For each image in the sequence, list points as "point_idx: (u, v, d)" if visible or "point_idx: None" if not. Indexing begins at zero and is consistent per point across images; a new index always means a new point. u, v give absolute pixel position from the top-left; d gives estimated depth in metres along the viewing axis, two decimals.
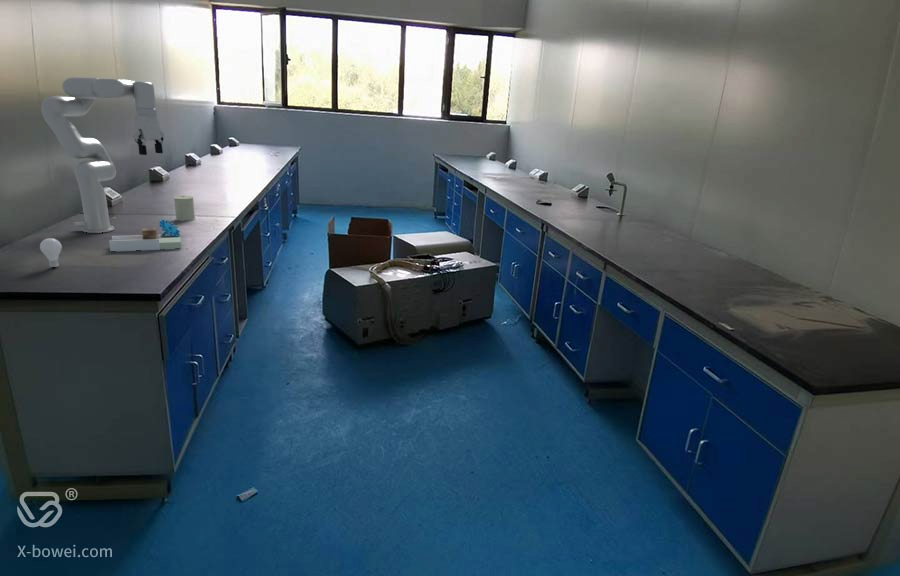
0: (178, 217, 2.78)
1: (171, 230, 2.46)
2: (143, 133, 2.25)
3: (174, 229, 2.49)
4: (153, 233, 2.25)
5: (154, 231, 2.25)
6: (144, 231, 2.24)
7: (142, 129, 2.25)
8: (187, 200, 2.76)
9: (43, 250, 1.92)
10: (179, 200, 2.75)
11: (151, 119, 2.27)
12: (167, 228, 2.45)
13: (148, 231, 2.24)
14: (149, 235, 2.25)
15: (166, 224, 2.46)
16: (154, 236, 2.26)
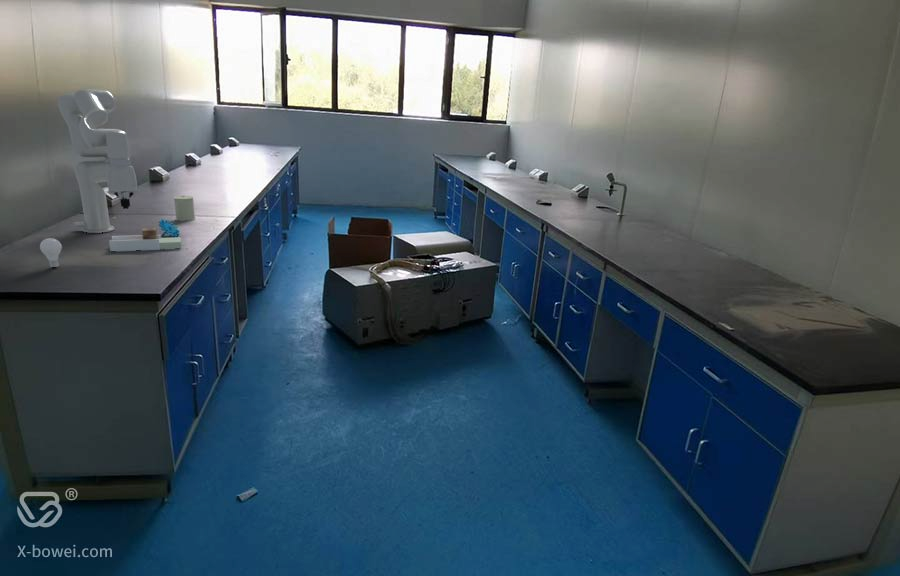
0: (178, 217, 2.78)
1: (170, 230, 2.46)
2: None
3: (174, 229, 2.49)
4: (153, 233, 2.25)
5: (154, 231, 2.25)
6: (144, 231, 2.24)
7: None
8: (187, 200, 2.76)
9: (43, 250, 1.92)
10: (179, 200, 2.75)
11: None
12: (166, 228, 2.45)
13: (148, 231, 2.24)
14: (149, 235, 2.25)
15: (166, 224, 2.46)
16: (154, 236, 2.26)
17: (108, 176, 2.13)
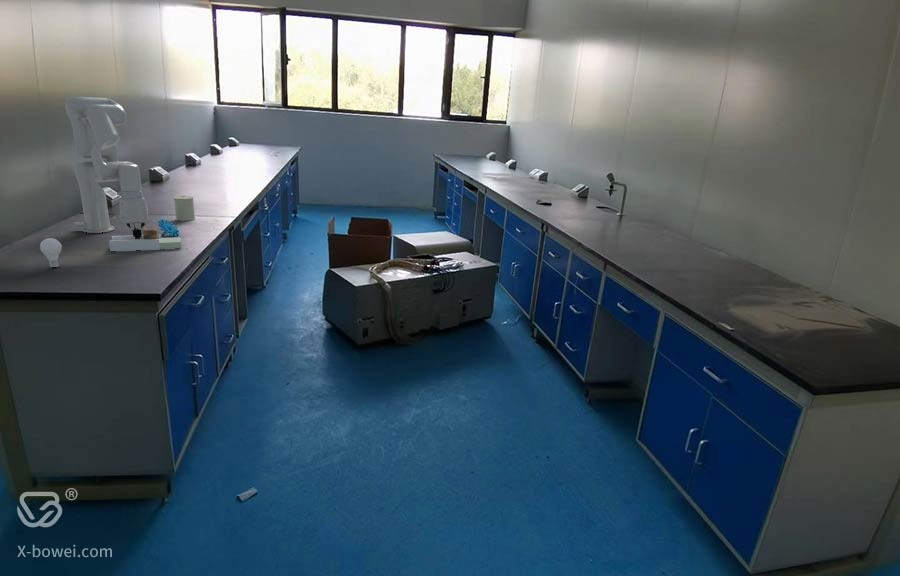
0: (178, 217, 2.78)
1: (170, 230, 2.46)
2: (148, 213, 2.26)
3: (173, 229, 2.49)
4: (154, 233, 2.25)
5: (155, 231, 2.25)
6: (145, 231, 2.24)
7: None
8: (187, 200, 2.76)
9: (43, 250, 1.92)
10: (179, 200, 2.75)
11: None
12: (166, 228, 2.45)
13: (149, 231, 2.24)
14: (150, 235, 2.25)
15: (165, 224, 2.46)
16: (155, 236, 2.26)
17: (121, 208, 2.18)
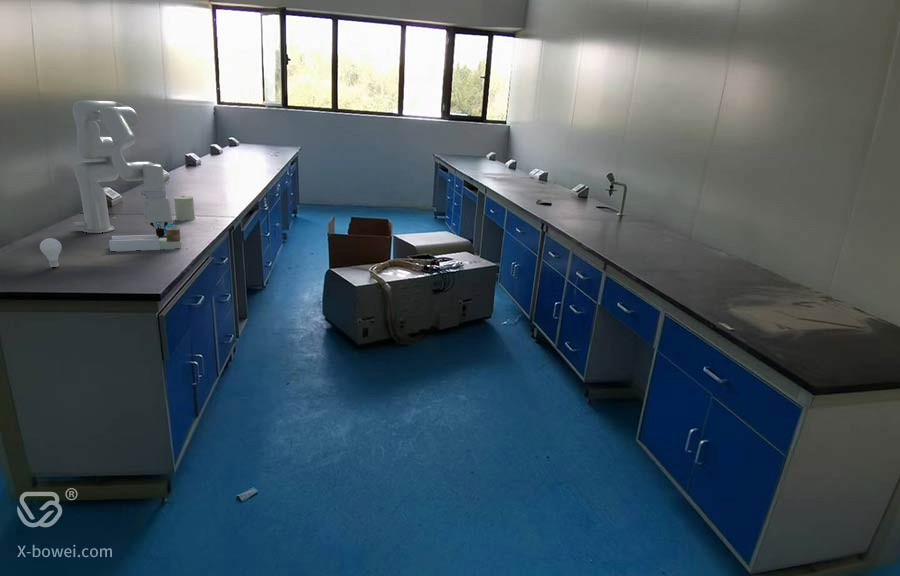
0: (178, 217, 2.78)
1: None
2: None
3: None
4: (176, 233, 2.28)
5: (177, 231, 2.28)
6: (168, 231, 2.27)
7: None
8: (187, 200, 2.76)
9: (43, 250, 1.92)
10: (179, 200, 2.75)
11: None
12: None
13: (171, 231, 2.27)
14: (172, 235, 2.28)
15: None
16: (177, 236, 2.29)
17: (145, 207, 2.21)
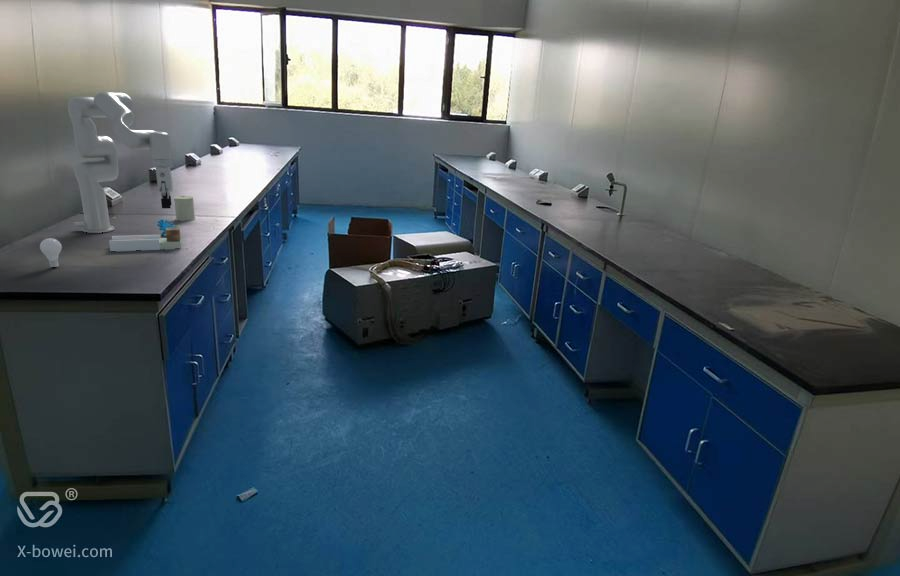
0: (178, 217, 2.78)
1: None
2: None
3: None
4: (176, 233, 2.28)
5: (177, 231, 2.28)
6: (168, 231, 2.27)
7: None
8: (187, 200, 2.76)
9: (43, 250, 1.92)
10: (179, 200, 2.75)
11: None
12: (165, 228, 2.45)
13: (171, 231, 2.27)
14: (172, 235, 2.28)
15: (165, 224, 2.47)
16: (177, 236, 2.29)
17: (169, 177, 2.20)
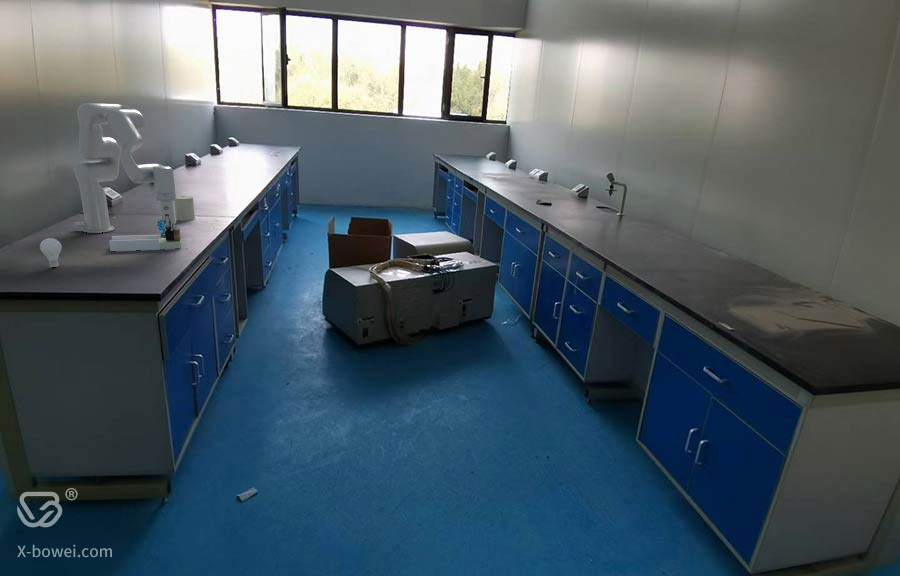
0: (178, 217, 2.78)
1: None
2: None
3: None
4: (176, 232, 2.29)
5: (177, 230, 2.28)
6: None
7: None
8: (187, 200, 2.76)
9: (43, 250, 1.92)
10: (179, 200, 2.75)
11: None
12: (164, 228, 2.45)
13: None
14: None
15: (164, 224, 2.47)
16: (177, 235, 2.29)
17: (173, 210, 2.24)
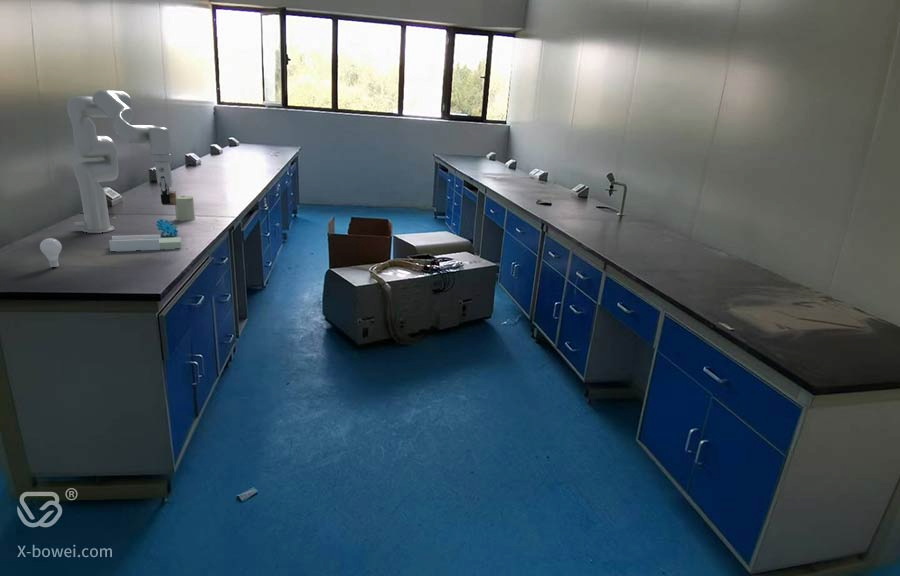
0: (178, 217, 2.78)
1: (168, 230, 2.47)
2: None
3: (172, 229, 2.49)
4: (173, 196, 2.24)
5: (174, 194, 2.24)
6: None
7: None
8: (187, 200, 2.76)
9: (43, 250, 1.92)
10: (179, 200, 2.75)
11: None
12: (164, 228, 2.45)
13: None
14: None
15: (164, 224, 2.47)
16: (173, 199, 2.24)
17: (169, 172, 2.19)
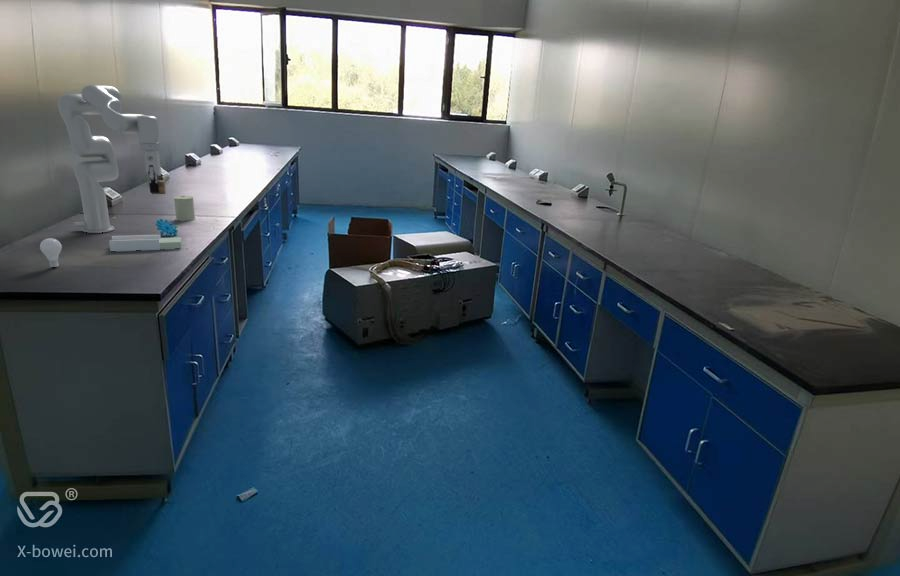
0: (178, 217, 2.78)
1: (167, 230, 2.47)
2: None
3: (171, 229, 2.49)
4: (161, 185, 2.24)
5: (162, 183, 2.24)
6: None
7: None
8: (187, 200, 2.76)
9: (43, 250, 1.92)
10: (179, 200, 2.75)
11: None
12: (163, 227, 2.45)
13: None
14: None
15: (163, 223, 2.47)
16: (162, 188, 2.25)
17: (157, 161, 2.20)
